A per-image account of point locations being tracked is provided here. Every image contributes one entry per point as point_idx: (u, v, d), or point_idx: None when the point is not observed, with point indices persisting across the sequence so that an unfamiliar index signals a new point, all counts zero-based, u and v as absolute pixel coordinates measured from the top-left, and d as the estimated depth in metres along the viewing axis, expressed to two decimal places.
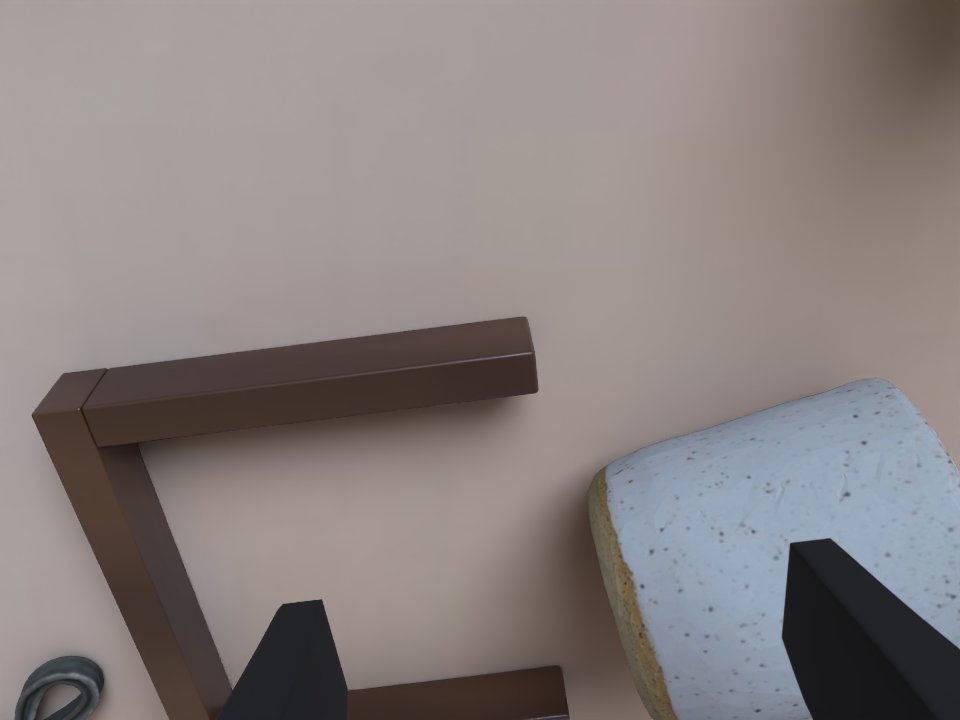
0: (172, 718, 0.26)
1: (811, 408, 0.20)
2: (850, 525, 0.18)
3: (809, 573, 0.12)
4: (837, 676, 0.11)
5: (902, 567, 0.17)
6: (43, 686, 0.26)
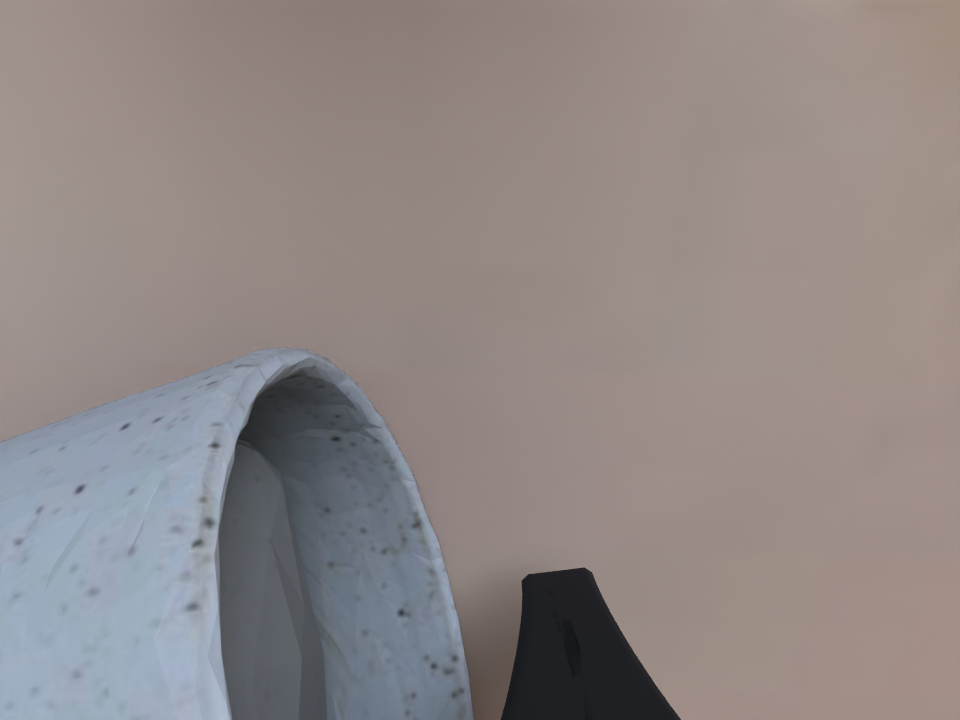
0: None
1: (108, 408, 0.10)
2: None
3: None
4: None
5: None
6: None
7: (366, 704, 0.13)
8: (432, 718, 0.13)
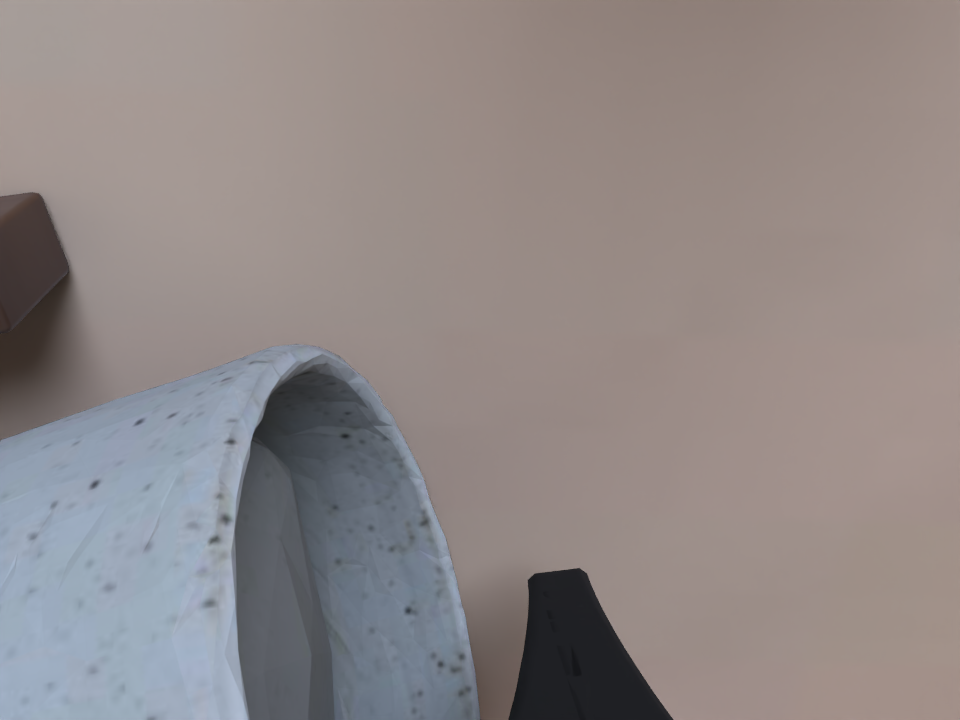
0: None
1: (121, 403, 0.10)
2: None
3: None
4: None
5: None
6: None
7: (373, 701, 0.13)
8: (439, 716, 0.13)
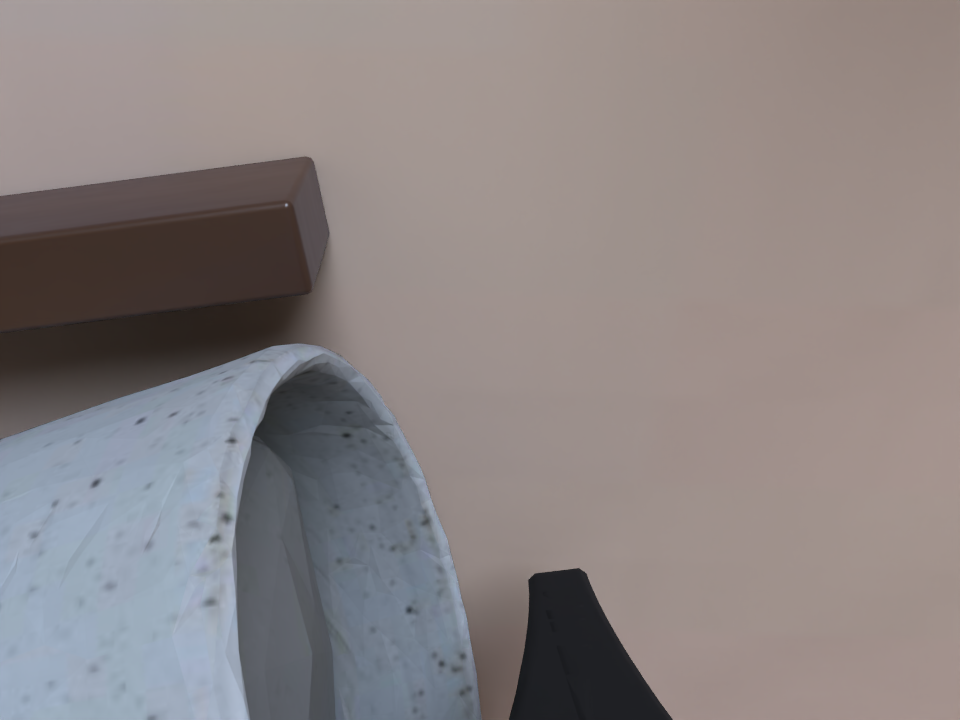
0: None
1: (122, 402, 0.10)
2: None
3: None
4: None
5: None
6: None
7: (374, 701, 0.13)
8: (440, 715, 0.13)
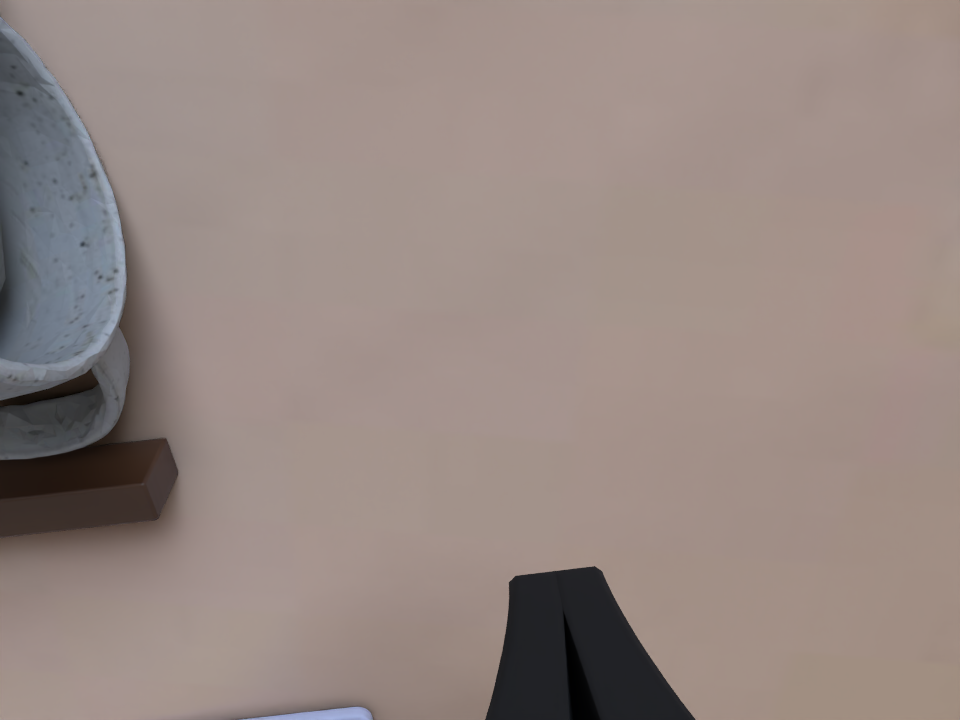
0: None
1: None
2: None
3: None
4: (580, 706, 0.11)
5: None
6: None
7: (49, 305, 0.18)
8: (92, 308, 0.17)
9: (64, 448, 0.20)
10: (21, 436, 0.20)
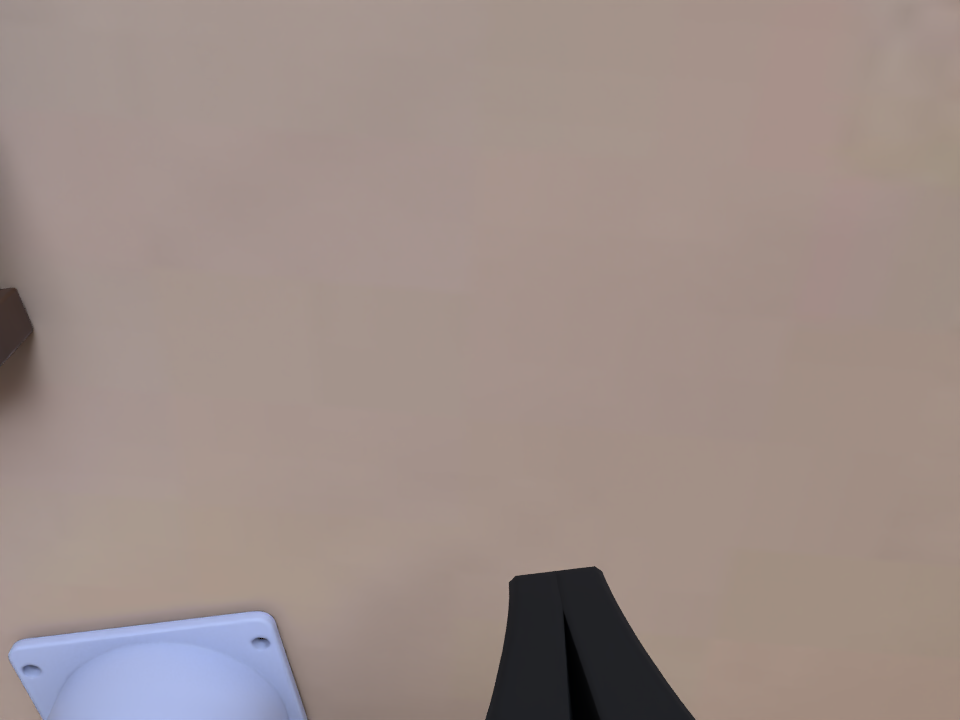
0: None
1: None
2: None
3: None
4: (580, 707, 0.11)
5: None
6: None
7: None
8: None
9: None
10: None
